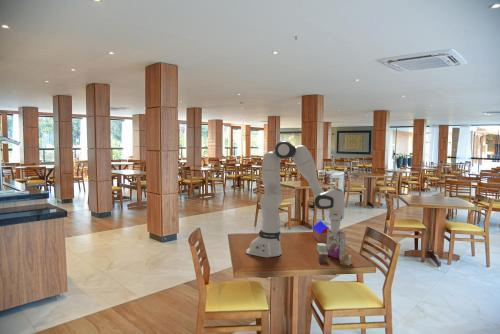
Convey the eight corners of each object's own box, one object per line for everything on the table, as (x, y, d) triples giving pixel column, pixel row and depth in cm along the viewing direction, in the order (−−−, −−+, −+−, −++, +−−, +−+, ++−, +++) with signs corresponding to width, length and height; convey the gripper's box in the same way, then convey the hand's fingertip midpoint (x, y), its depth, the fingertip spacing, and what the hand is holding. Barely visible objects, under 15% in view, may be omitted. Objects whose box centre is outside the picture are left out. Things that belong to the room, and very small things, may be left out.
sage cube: (319, 253, 218) (319, 245, 217) (316, 250, 223) (316, 243, 222) (326, 253, 218) (326, 245, 218) (324, 250, 223) (324, 243, 223)
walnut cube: (318, 262, 200) (319, 254, 200) (318, 259, 205) (318, 251, 205) (327, 263, 199) (327, 254, 199) (327, 260, 204) (327, 251, 204)
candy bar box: (325, 254, 214) (326, 228, 213) (331, 253, 217) (332, 228, 216) (338, 260, 205) (340, 232, 204) (344, 258, 207) (345, 232, 206)
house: (318, 243, 241) (319, 226, 240) (312, 235, 261) (312, 220, 260) (335, 243, 242) (336, 226, 241) (327, 235, 262) (328, 220, 261)
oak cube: (340, 264, 197) (340, 255, 197) (342, 262, 202) (343, 253, 201) (348, 266, 195) (348, 257, 194) (351, 263, 199) (351, 255, 198)
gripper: (332, 211, 220) (332, 232, 221) (329, 217, 201) (328, 240, 202) (342, 212, 218) (342, 233, 219) (340, 218, 199) (339, 241, 199)
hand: (335, 237), depth 210 cm, fingers open, 8 cm apart
